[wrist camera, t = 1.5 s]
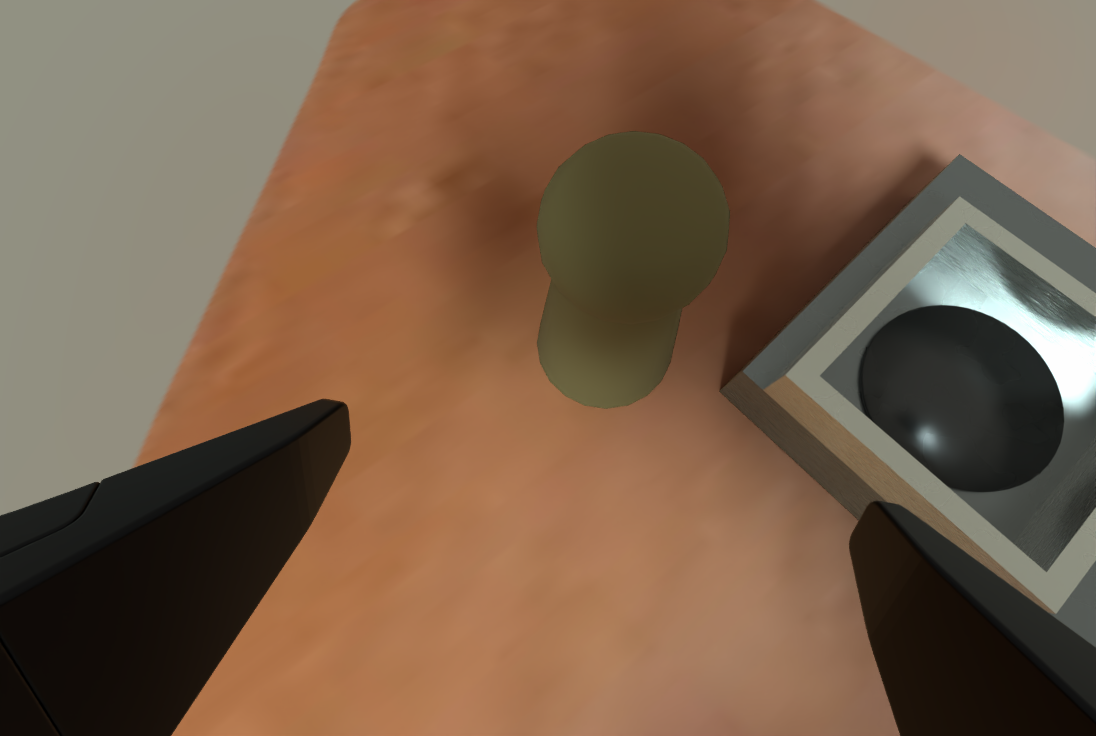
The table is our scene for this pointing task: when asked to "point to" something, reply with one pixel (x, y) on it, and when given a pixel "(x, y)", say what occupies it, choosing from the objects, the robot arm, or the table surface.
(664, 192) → the olive knobbed post
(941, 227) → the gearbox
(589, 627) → the table surface
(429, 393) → the table surface
